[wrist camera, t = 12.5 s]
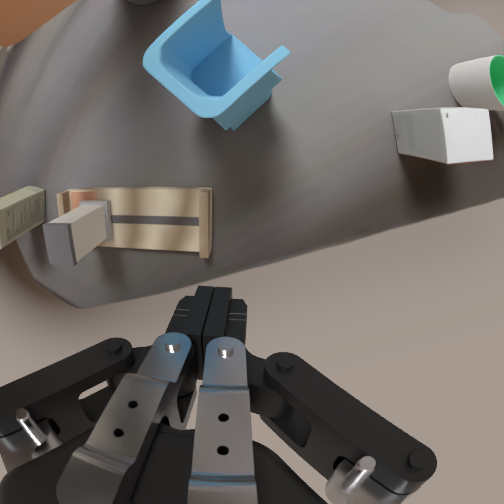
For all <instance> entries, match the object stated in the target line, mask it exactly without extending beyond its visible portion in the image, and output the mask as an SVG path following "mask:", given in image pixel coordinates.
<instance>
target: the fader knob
mask: <svg viewBox="0 0 504 504" xmlns="http://www.w3.org/2000/svg"><path fill="white" fill-rule="evenodd" d="M43 232H44V237H45V243H46V248H47V253H48V258H49V263H50V264H56V265H66V266H75V265H76V264H77V262H78V261H79V260H80V259H82V258H83V257H84V256H85V255H86V254H88V253H89V252H90V251H91V250H93V249H94V248H95V247H96V246H98V245H99V244H100V243H101V242H103V241H111V240H112V239H113V231H112V222H111V211H110V200H82V201H80V202H79V207H77V208H75V209H73V210H72V211H70V212H68V213H66V214H64V215H62V216H60V217H58V218H56V219H54V220H53V221H51V222H49V223H45V224H43Z"/></svg>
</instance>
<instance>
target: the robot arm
mask: <svg viewBox="0 0 504 504" xmlns="http://www.w3.org/2000/svg"><path fill="white" fill-rule="evenodd" d="M128 1H129V2H131V3H133V4H137V5H145V4H151V3H154V2H157V1H159V0H128ZM246 321H247V305H246V304H245V302H244V300H243V299H232V288H227V287H211V286H198V288H197V290H196V293H195V296H185V297H184V298H183V299H181V300H180V301H179V303H178V305H177V307H176V310H175V312H174V315H173V316H172V318H171V321H170V323H169V325H168V328H167V330H166V332H165V334H163V335H161V336H159V337H158V338H157V339H156V340H155V342H154V343H153V345H151V346H147V347H137V348H132V345H131V343H130V342H129V341H128V340H126V339H123V338H110V339H107V340H105V341H102V342H100V343H98V344H96V345H94V346H91V347H89V348H87V349H85V350H83V351H80V352H78V353H76V354H74V355H72V356H69V357H67V358H65V359H63V360H61V361H58V362H56V363H54V364H52V365H49V366H47V367H45V368H43V369H40V370H38V371H36V372H34V373H31V374H29V375H27V376H25V377H22V378H20V379H18V380H16V381H13V382H11V383H8V384H6V385H4V386H2V387H0V454H1V457H2V460H3V463H4V465H5V468H6V470H7V474H6V475H5V476H4V477H3V479H2V481H1V483H0V504H328V503H327V502H326V501H324V500H323V499H322V498H321V497H320V496H319V495H318V494H317V493H316V492H315V491H314V490H312V489H311V488H310V487H309V486H308V485H307V484H306V483H305V482H304V481H303V480H302V479H301V478H300V477H299V476H298V475H297V474H296V473H295V472H294V471H293V470H292V469H291V468H290V467H289V466H288V465H287V464H286V463H285V462H284V461H283V460H282V459H281V458H280V457H279V456H278V455H277V454H276V453H275V452H273V451H272V450H270V449H269V448H267V447H266V446H264V445H262V444H260V443H258V442H255V441H253V440H252V430H251V413H250V412H253V413H256V414H259V415H260V417H261V419H262V420H263V421H264V422H265V423H266V424H267V425H268V426H269V427H270V428H271V429H272V430H273V431H274V432H275V433H276V434H277V435H278V436H279V437H280V438H281V439H282V440H283V441H284V442H285V443H286V444H287V445H288V446H290V447H291V448H292V449H293V450H294V451H295V452H296V453H297V454H298V455H299V456H301V457H302V458H303V459H304V460H305V461H306V462H307V463H308V464H310V465H311V466H312V467H313V468H314V469H315V470H316V471H318V472H319V473H320V474H321V475H323V476H324V477H325V478H326V479H327V480H328V481H327V483H326V487H325V491H326V495H327V497H328V499H329V500H330V501H331V502H332V503H333V504H401V503H402V502H403V501H405V500H406V499H407V498H408V497H410V496H411V495H412V494H413V493H414V492H416V491H417V490H418V489H419V488H420V487H421V485H422V484H423V483H424V482H426V481H427V480H428V479H429V478H430V477H431V476H432V475H433V474H434V472H435V470H436V467H437V459H436V456H435V454H434V452H433V451H432V450H431V449H430V448H428V447H427V446H426V445H424V444H422V443H421V442H419V441H417V440H416V439H415V438H413V437H412V436H410V435H408V434H407V433H405V432H404V431H402V430H401V429H399V428H398V427H396V426H395V425H393V424H392V423H390V422H389V421H387V420H386V419H385V418H383V417H381V416H380V415H379V414H377V413H376V412H374V411H373V410H371V409H370V408H369V407H367V406H366V405H364V404H363V403H361V402H360V401H359V400H357V399H356V398H354V397H353V396H352V395H350V394H349V393H347V392H346V391H345V390H343V389H342V388H340V387H339V386H338V385H336V384H335V383H333V382H332V381H331V380H329V379H328V378H327V377H325V376H324V375H323V374H321V373H320V372H319V371H317V370H316V369H315V368H313V367H312V366H311V365H309V364H308V363H307V362H305V361H304V360H303V359H301V358H300V357H299V356H297V355H295V354H292V353H288V352H279V353H274V354H272V355H270V356H269V357H268V358H267V359H262V358H259V357H256V356H254V355H252V354H251V353H249V352H248V350H247V349H246V347H245V340H246ZM197 379H199V380H203V383H202V385H200V388H199V396H198V407H197V416H196V427H195V429H191V430H185V429H186V426H187V423H188V419H189V417H190V413H191V410H192V407H193V404H194V401H195V398H196V394H197V391H196V381H197ZM103 381H107V384H108V386H107V387H105V388H103V389H101V390H99V391H97V392H96V393H94V394H91V395H90V396H88V397H86V398H84V399H80V400H79V399H78V398H79V396H80V394H81V393H82V392H84V391H86V390H88V389H90V388H92V387H94V386H96V385H98V384H100V383H102V382H103Z"/></svg>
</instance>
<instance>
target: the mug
mask: <svg viewBox="0 0 504 504" xmlns="http://www.w3.org/2000/svg"><path fill="white" fill-rule="evenodd" d="M449 86H450V89H451V92H452V94H453V96H454V98H455V99H456V101H457V102H458V103H459V104H460V105H461V106H462V107H467V108H482V109H488V110H502V111H504V56H502V55H496V56H490V57H485V58H480V59H475V60H471V61H466V62H462V63H458V64H455V65H454V66H452V68H451V69H450V72H449Z"/></svg>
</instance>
